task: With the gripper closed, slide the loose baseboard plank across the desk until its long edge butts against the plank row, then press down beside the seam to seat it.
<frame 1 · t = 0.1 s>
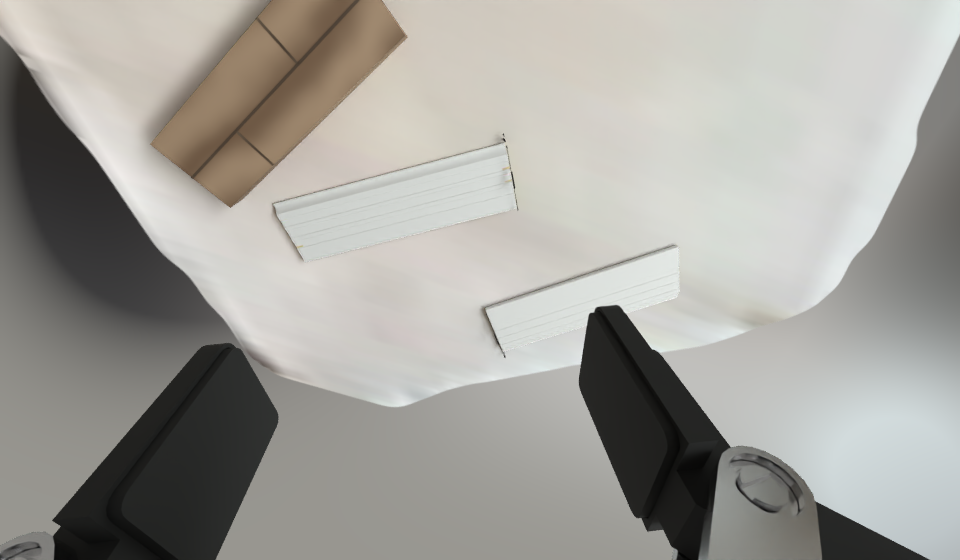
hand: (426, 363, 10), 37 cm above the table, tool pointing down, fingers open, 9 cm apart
plank row: (283, 90, 37), on the table
baseboard: (398, 197, 45), on the table
baseboard molding: (581, 301, 58), on the table
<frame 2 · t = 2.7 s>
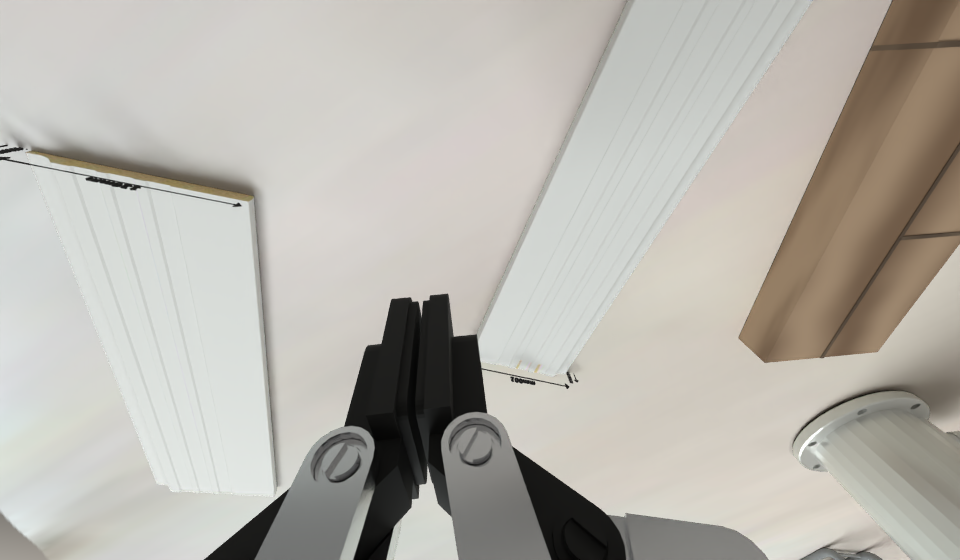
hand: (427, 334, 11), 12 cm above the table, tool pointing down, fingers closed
plank row: (886, 160, 21), on the table
baseboard: (618, 189, 22), on the table
baseboard molding: (191, 365, 27), on the table
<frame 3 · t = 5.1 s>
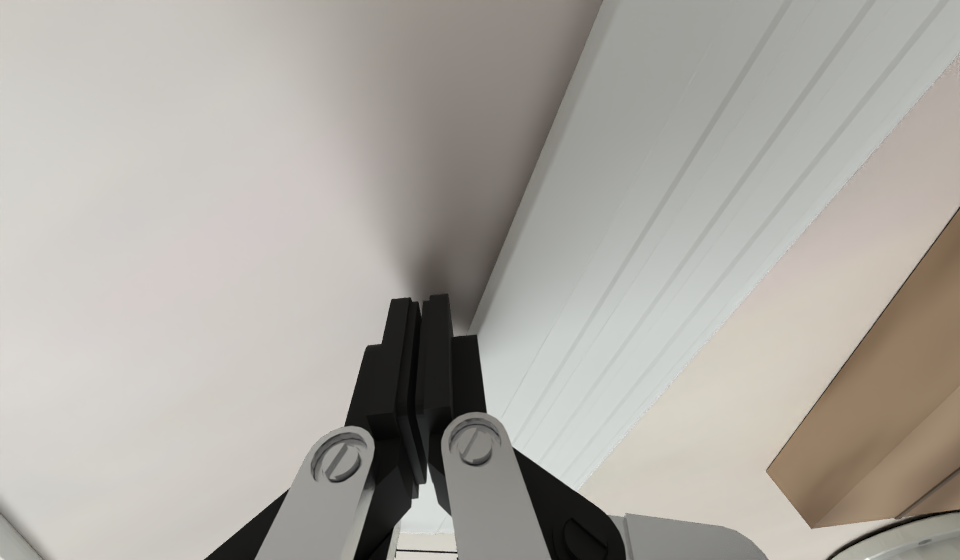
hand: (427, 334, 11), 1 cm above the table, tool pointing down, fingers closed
baseboard: (620, 291, 12), on the table, touching gripper
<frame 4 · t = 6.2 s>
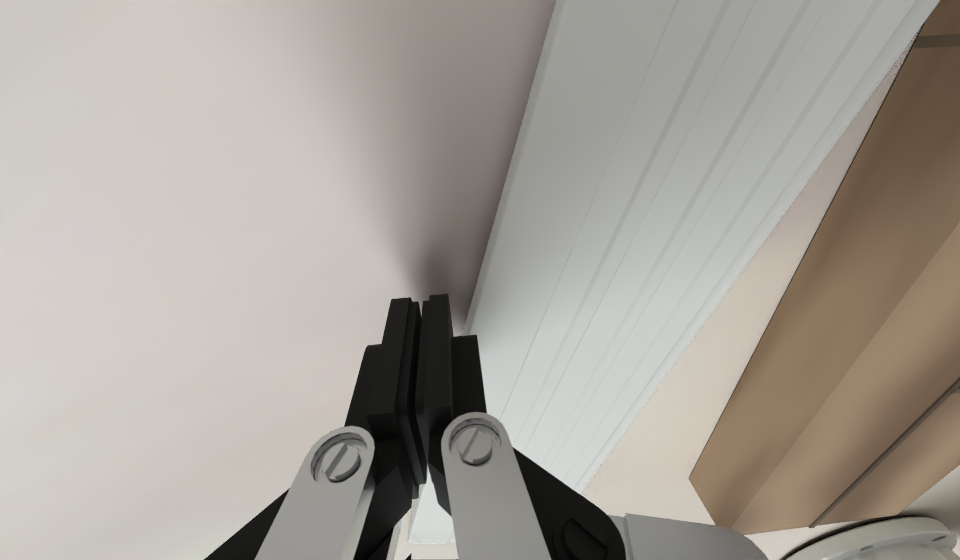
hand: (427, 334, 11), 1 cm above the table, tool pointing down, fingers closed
plank row: (927, 246, 12), on the table
baseboard: (591, 318, 13), on the table, touching gripper
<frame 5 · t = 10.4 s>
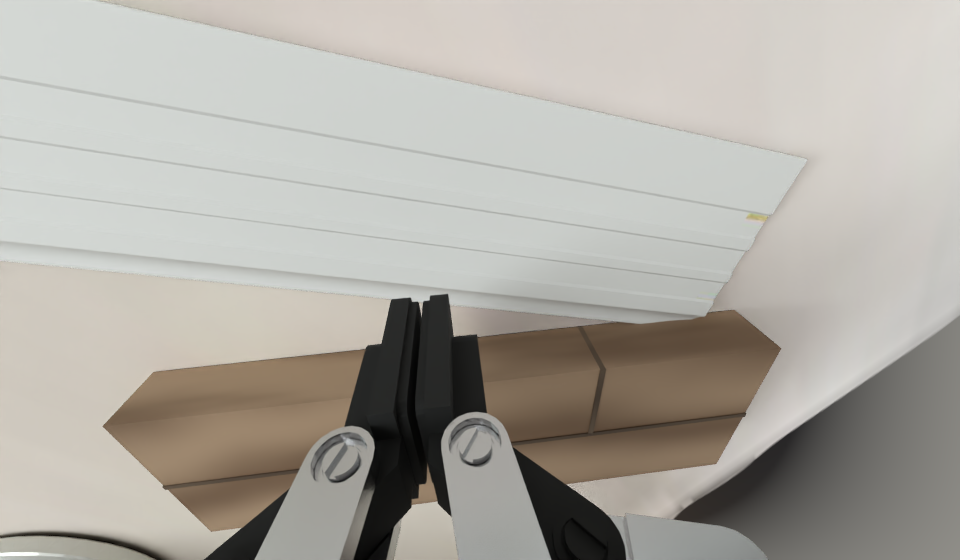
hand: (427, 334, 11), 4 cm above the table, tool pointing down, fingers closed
plank row: (465, 400, 19), on the table
baseboard: (383, 209, 14), on the table
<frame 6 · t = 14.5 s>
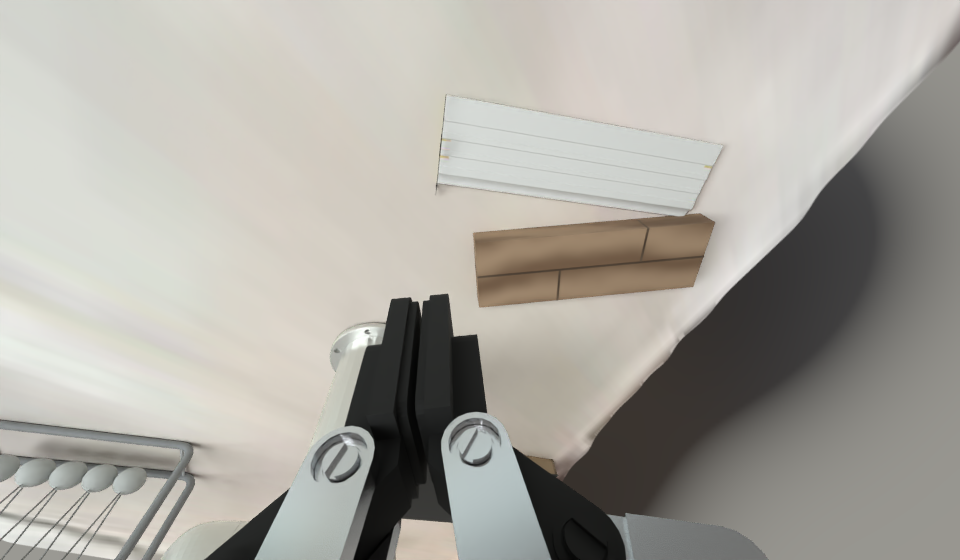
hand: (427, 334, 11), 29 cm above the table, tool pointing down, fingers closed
plank row: (584, 255, 44), on the table
newton's cradle: (94, 447, 55), on the table
dark grey book: (456, 477, 70), on the table
baseboard: (574, 167, 38), on the table
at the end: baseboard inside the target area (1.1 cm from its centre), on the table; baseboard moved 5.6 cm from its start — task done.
